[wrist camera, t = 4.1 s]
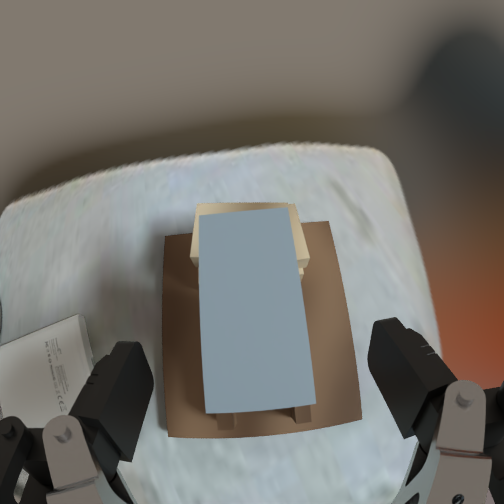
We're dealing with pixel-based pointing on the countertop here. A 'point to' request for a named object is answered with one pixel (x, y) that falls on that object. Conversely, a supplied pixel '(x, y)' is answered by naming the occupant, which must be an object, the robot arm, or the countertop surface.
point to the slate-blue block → (252, 314)
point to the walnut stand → (320, 340)
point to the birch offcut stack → (217, 208)
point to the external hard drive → (45, 371)
